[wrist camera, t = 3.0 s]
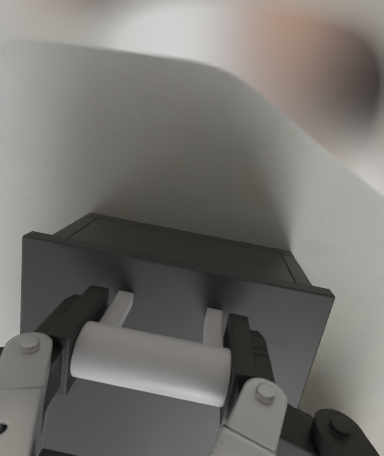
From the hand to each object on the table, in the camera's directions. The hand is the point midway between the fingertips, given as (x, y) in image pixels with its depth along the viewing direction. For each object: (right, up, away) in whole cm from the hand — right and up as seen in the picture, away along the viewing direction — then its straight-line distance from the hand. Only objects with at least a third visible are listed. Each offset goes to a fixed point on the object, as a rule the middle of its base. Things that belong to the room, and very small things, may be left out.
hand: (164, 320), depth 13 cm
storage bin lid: (-1, -6, +4) cm, 7 cm away
